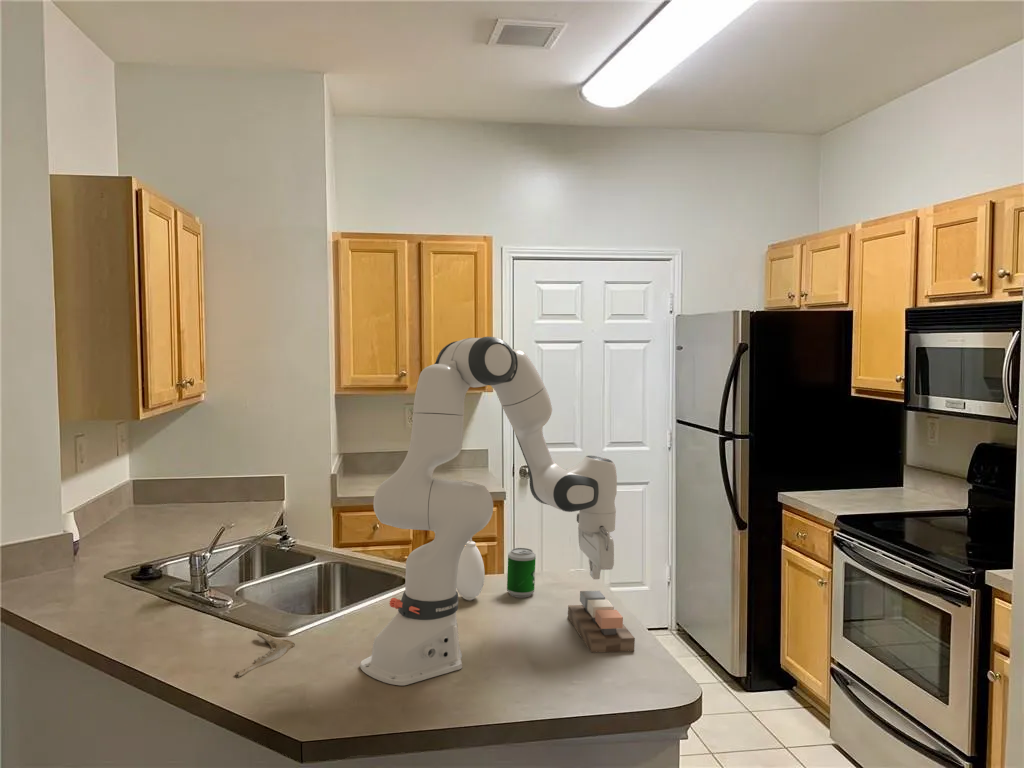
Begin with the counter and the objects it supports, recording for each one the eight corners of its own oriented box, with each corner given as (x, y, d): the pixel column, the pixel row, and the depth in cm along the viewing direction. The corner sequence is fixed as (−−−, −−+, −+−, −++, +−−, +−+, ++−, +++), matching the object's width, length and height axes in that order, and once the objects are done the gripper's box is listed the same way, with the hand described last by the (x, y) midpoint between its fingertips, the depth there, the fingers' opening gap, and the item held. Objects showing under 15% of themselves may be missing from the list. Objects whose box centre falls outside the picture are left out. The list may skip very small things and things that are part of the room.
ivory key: (612, 630, 186) (613, 606, 186) (592, 630, 186) (593, 607, 185) (606, 622, 191) (607, 599, 191) (586, 623, 190) (587, 599, 190)
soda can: (531, 600, 210) (533, 555, 209) (504, 597, 212) (505, 553, 211) (536, 591, 217) (538, 548, 217) (509, 588, 219) (511, 545, 218)
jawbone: (297, 642, 179) (298, 633, 179) (279, 683, 159) (280, 674, 159) (257, 639, 178) (257, 630, 178) (233, 680, 158) (234, 670, 158)
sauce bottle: (482, 604, 205) (485, 536, 204) (452, 603, 205) (455, 535, 204) (484, 594, 213) (486, 529, 212) (455, 593, 213) (457, 528, 212)
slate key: (604, 620, 193) (605, 597, 193) (584, 620, 192) (585, 597, 192) (598, 612, 198) (599, 590, 198) (579, 613, 197) (580, 591, 197)
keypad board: (634, 651, 179) (634, 638, 178) (591, 652, 177) (592, 639, 177) (606, 615, 200) (606, 604, 200) (567, 616, 198) (568, 605, 198)
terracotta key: (621, 641, 180) (623, 617, 179) (600, 642, 179) (601, 618, 178) (615, 633, 184) (616, 609, 184) (594, 634, 184) (595, 610, 183)
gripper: (621, 532, 183) (619, 590, 184) (598, 513, 203) (596, 566, 204) (595, 532, 182) (593, 591, 183) (574, 513, 203) (572, 566, 203)
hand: (594, 577), depth 194 cm, fingers closed
